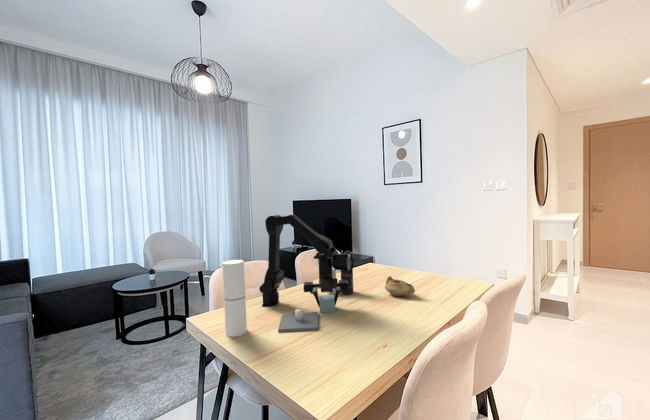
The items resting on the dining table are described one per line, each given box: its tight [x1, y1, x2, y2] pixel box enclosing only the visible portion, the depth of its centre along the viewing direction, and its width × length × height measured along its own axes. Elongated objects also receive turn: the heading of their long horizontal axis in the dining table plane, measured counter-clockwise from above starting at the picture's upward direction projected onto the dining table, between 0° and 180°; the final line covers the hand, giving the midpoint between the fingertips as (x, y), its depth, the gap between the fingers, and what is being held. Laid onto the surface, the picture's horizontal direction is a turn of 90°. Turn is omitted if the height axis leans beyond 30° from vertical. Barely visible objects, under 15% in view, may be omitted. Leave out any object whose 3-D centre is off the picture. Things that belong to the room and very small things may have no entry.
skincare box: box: [327, 266, 337, 295], centre depth 141 cm, size 6×4×12 cm
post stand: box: [277, 308, 319, 333], centre depth 107 cm, size 14×14×5 cm
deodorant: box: [340, 261, 354, 296], centre depth 140 cm, size 6×6×15 cm
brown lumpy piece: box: [384, 275, 416, 297], centre depth 134 cm, size 11×15×8 cm
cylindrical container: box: [221, 259, 248, 338], centre depth 101 cm, size 7×7×25 cm
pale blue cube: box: [318, 294, 336, 313], centre depth 119 cm, size 6×6×5 cm
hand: (326, 306), depth 119 cm, fingers closed on pale blue cube, 6 cm apart
